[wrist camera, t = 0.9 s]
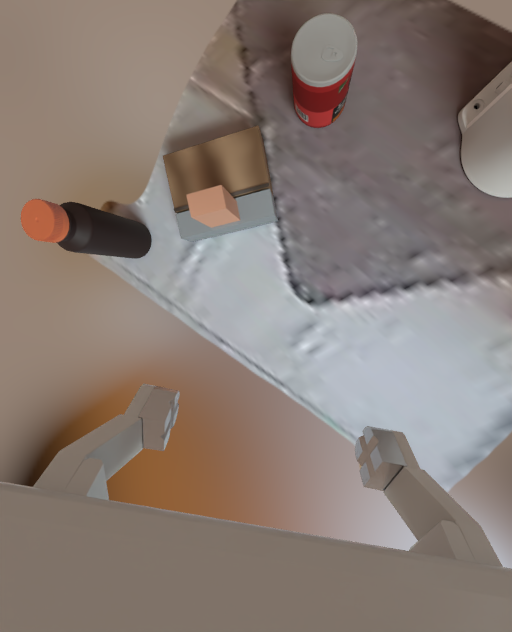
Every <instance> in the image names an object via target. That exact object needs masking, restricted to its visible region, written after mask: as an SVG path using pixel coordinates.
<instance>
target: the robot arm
mask: <svg viewBox="0 0 512 632" xmlns="http://www.w3.org/2000/svg"><path fill="white" fill-rule="evenodd" d="M474 106H477V108H478V109H474ZM458 123H459V126H460V129H461V132H462V147H461V161H462V165H463V169H464V171H465V173H466V175H467V177H468V179H469V180H470V181H471V182H472V183H473V184H474V185H475V186H476V187H477V188H478V189H480V190H481V191H483V192H485V193H487V194H490V195H493V196H497V197H512V61H511V62H510V63H509V64H508V65H507V66H506V67H505V68H504V69H503V70H502V71H501V72H500V73H499V74H498V75H497V76H496V77H495V78H494V79H493V80H492V81H490V82H489V83H488V84H487V85H486V86H485V87H484V88H483V89H482V90H481V91H480V92H479V93H478V94H477V95H476V96H475V97H474V98H473V99H472V100H471V101H470V102H469V103H468V104H467V105H466V106H465V107H464V108H462V110H461V111H460V112H459V114H458ZM178 399H179V391H177V390H172V389H167V388H162V387H158V386H152V385H148V384H143V385H142V386H141V387H140V389H139V390H138V392H137V394H136V395H135V397H134V399H133V400H132V402H131V404H130V406H129V407H128V409H127V411H126V412H125V414H124V415H121V414H120V415H118V416H117V417H115V418H113V419H112V420H110V421H108V422H107V423H105V424H103V425H102V426H100V427H98V428H97V429H95V430H94V431H92V432H90V433H89V434H87V435H85V436H84V437H82V438H81V439H79V440H77V441H75V442H74V443H72V444H70V445H69V446H67V447H65V448H64V449H62V450H61V451H59V452H58V454H57V455H56V456H55V458H54V459H53V461H52V462H51V463H50V465H49V466H48V467H47V469H46V470H45V471H44V473H43V474H42V476H41V477H40V478H39V480H38V481H37V482H36V484H35V485H34V486H33V487H29V486H23V485H18V484H12V483H6V482H0V632H512V569H510V568H505V567H503V566H502V564H501V563H500V561H499V559H498V557H497V555H496V553H495V552H494V550H493V548H492V546H491V545H490V542H489V541H488V539H487V537H486V535H485V533H484V531H483V530H482V528H481V526H480V525H479V524H478V523H477V522H476V521H475V520H474V519H473V518H472V517H471V516H470V515H469V514H468V513H467V512H466V511H465V510H464V509H463V508H462V507H461V506H460V505H459V504H458V503H457V502H456V501H455V500H454V499H453V498H452V497H451V496H450V495H449V494H448V493H447V492H446V491H445V490H444V489H443V488H442V487H441V486H440V485H439V484H438V483H437V482H436V481H435V480H434V479H433V478H432V477H431V476H429V475H428V474H427V473H426V472H425V471H424V470H422V469H420V467H419V465H418V463H417V461H416V459H415V456H414V454H413V452H412V450H411V448H410V446H409V443H408V441H407V439H406V437H405V435H404V434H403V433H402V432H397V431H392V430H387V429H381V428H375V427H370V426H367V427H365V429H364V430H363V434H364V435H363V436H361V437H359V438H358V440H357V442H356V446H355V455H356V459H357V461H358V462H359V464H360V465H361V466H362V467H361V469H360V474H361V478H362V482H363V485H364V487H367V488H372V489H377V490H381V491H384V493H385V495H386V496H387V498H388V499H389V501H390V502H391V503H392V505H393V506H394V507H395V509H396V510H397V512H398V513H399V515H400V516H401V517H402V519H403V520H404V521H405V523H406V524H407V526H408V527H409V529H410V530H411V531H412V533H413V534H414V536H415V537H416V539H417V540H418V542H417V543H416V544H414V545H413V546H412V547H411V548H410V550H409V551H405V550H399V549H393V548H387V547H381V546H375V545H369V544H363V543H357V542H352V541H346V540H340V539H334V538H328V537H323V536H317V535H311V534H305V533H299V532H293V531H287V530H282V529H276V528H270V527H264V526H258V525H252V524H246V523H241V522H235V521H229V520H223V519H217V518H211V517H205V516H199V515H193V514H188V513H182V512H176V511H170V510H164V509H158V508H152V507H147V506H141V505H135V504H129V503H123V502H117V501H111V500H109V498H108V491H107V484H106V481H107V480H108V479H109V478H110V477H111V476H112V475H114V474H115V473H116V472H117V471H118V470H119V469H120V468H121V467H123V466H124V465H125V464H126V463H127V462H128V461H130V460H131V459H132V458H133V457H134V456H135V455H136V454H138V453H139V452H140V451H141V450H142V449H143V448H147V449H154V450H160V451H164V449H165V447H166V444H167V442H168V439H169V436H170V429H171V428H172V427H173V426H174V423H175V421H176V417H177V414H178V407H179V404H178V403H177V401H178Z"/></svg>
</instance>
